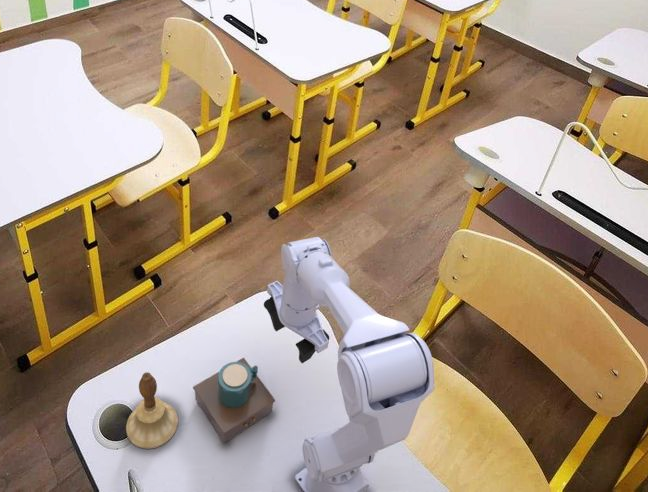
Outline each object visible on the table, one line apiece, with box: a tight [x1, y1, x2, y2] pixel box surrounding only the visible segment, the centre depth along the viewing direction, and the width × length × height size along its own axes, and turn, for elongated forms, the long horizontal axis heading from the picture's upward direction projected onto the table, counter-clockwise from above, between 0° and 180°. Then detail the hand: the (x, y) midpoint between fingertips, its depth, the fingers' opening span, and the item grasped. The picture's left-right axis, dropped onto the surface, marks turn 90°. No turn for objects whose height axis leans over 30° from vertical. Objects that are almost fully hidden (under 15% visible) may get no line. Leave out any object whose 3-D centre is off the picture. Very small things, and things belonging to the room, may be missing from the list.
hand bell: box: [125, 371, 179, 450], centre depth 92 cm, size 8×8×16 cm
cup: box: [218, 361, 259, 408], centre depth 97 cm, size 5×7×6 cm
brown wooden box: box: [192, 357, 276, 444], centre depth 100 cm, size 10×10×5 cm
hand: (292, 343), depth 101 cm, fingers open, 7 cm apart
